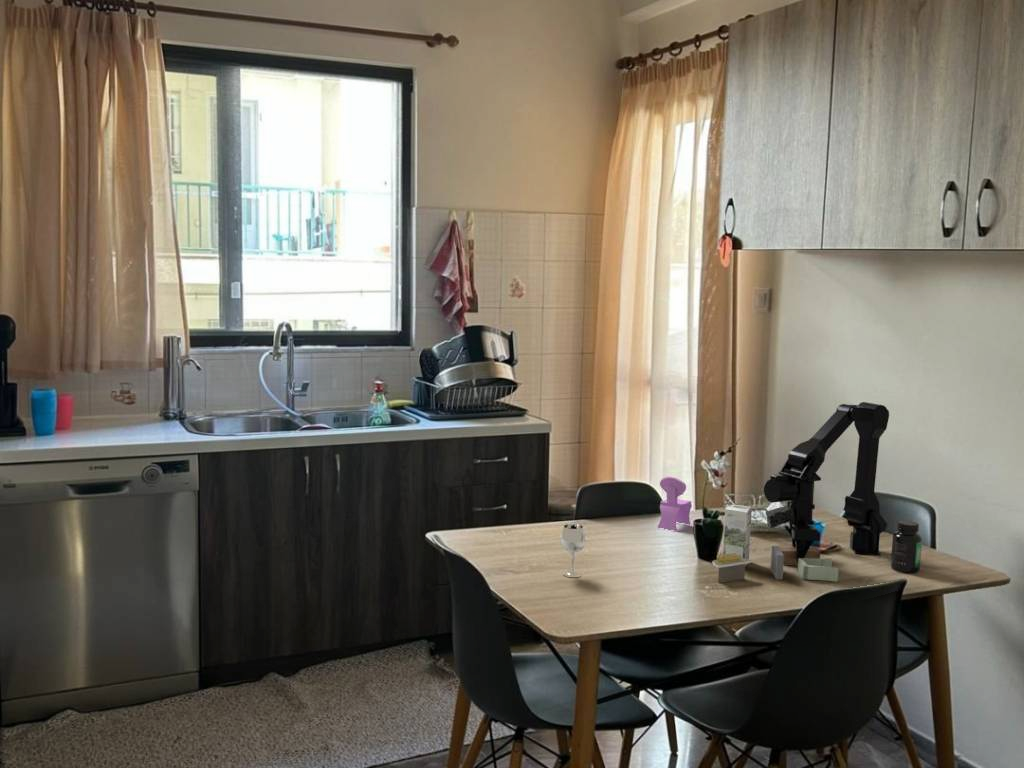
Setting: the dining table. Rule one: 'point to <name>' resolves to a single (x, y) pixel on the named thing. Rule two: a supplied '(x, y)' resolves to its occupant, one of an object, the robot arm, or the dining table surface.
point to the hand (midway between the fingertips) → (798, 558)
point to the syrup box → (737, 530)
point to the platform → (730, 567)
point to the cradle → (817, 569)
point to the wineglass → (572, 541)
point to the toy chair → (673, 504)
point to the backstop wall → (777, 562)
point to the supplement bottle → (906, 548)
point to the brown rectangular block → (791, 554)
